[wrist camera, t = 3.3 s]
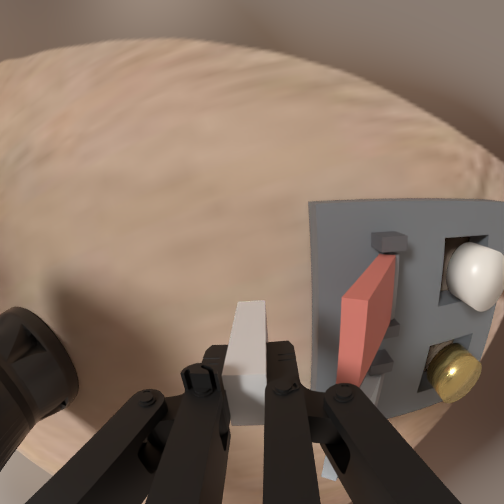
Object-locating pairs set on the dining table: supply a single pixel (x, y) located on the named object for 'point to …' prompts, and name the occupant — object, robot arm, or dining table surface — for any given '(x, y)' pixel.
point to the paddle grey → (372, 391)
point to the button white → (476, 275)
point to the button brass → (453, 372)
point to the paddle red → (366, 317)
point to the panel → (409, 286)
